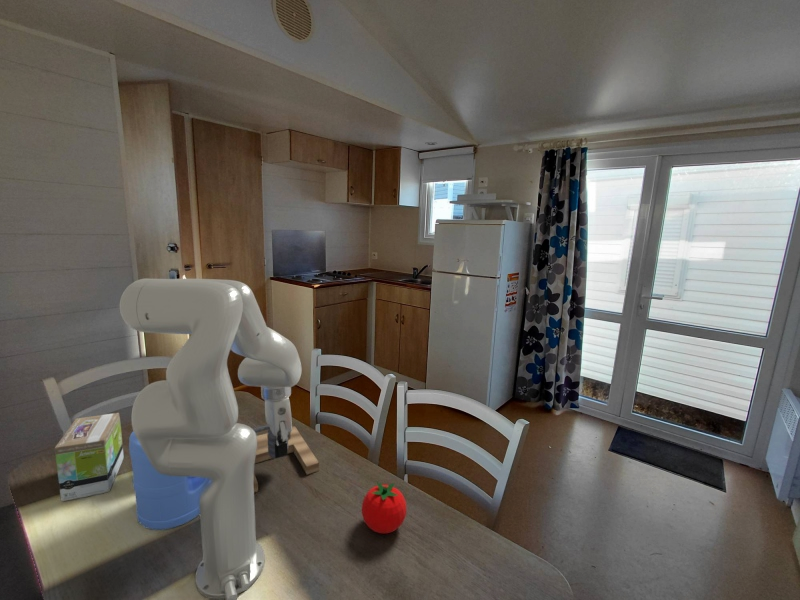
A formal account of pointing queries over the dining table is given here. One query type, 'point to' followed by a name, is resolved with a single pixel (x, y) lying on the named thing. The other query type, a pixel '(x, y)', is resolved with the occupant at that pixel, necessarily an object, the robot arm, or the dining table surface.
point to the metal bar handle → (267, 429)
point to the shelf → (294, 445)
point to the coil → (273, 443)
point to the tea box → (89, 456)
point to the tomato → (384, 508)
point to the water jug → (162, 493)
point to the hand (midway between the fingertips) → (278, 449)
